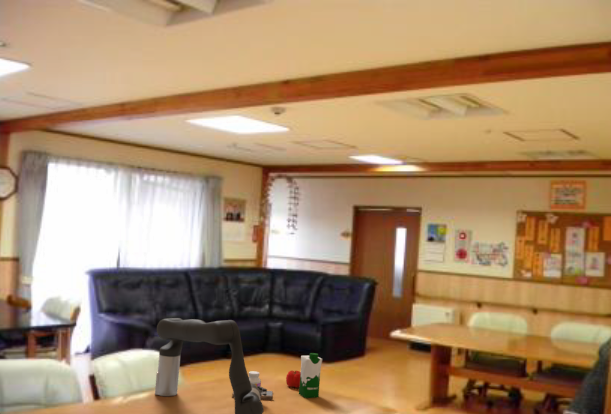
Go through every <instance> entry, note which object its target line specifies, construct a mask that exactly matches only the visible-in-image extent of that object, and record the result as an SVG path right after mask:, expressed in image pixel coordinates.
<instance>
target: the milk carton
mask: <svg viewBox="0 0 611 414" xmlns="http://www.w3.org/2000/svg"><path fill="white" fill-rule="evenodd" d="M300 363H301V364H300V372H301V375H300V387H298V389H299V390H298V395H300V396H301V397H303V398H304V399H311V398H314V399H315V398H319V394H320V381H321V371H322V369H321V368H322V363H323V358H321V357H319V353H316V352H310V353H309V355H301V356H300Z"/></svg>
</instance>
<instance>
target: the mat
mask: <svg viewBox="0 0 611 414" xmlns="http://www.w3.org/2000/svg"><path fill="white" fill-rule="evenodd" d="M232 393H234V392H233V391H232ZM267 395H271V396H272V397H273V391H272V390H267Z"/></svg>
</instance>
